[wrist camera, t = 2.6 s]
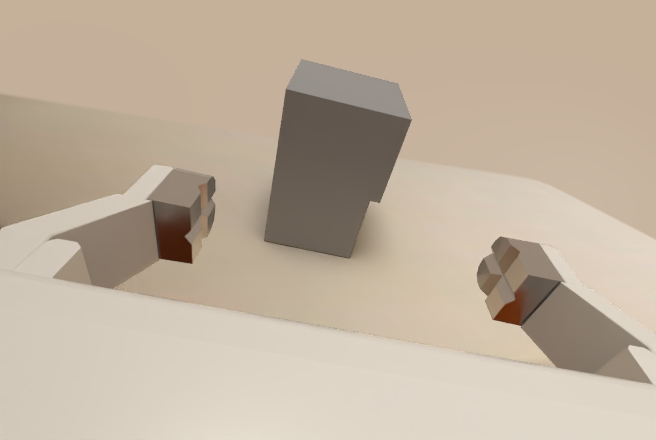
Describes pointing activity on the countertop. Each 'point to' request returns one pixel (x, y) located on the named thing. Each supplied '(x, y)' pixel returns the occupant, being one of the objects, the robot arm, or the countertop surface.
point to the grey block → (333, 156)
